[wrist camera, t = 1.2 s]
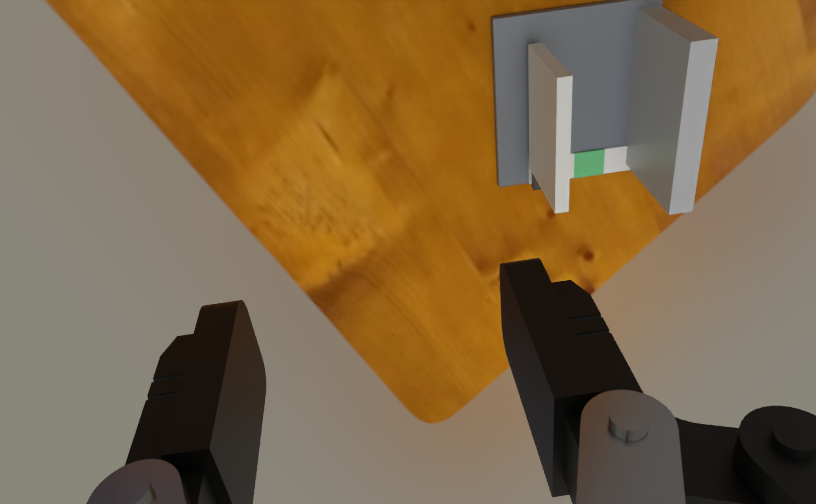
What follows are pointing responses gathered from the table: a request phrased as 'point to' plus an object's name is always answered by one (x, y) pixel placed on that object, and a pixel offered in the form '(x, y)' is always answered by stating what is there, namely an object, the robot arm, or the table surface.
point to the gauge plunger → (549, 125)
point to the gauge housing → (611, 92)
